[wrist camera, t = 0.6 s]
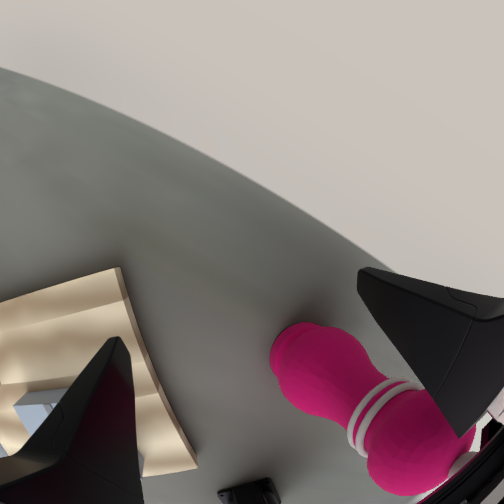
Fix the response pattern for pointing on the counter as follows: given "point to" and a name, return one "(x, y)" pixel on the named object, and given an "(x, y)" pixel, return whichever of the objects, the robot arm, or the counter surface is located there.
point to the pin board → (83, 361)
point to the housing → (44, 411)
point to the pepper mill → (370, 408)
